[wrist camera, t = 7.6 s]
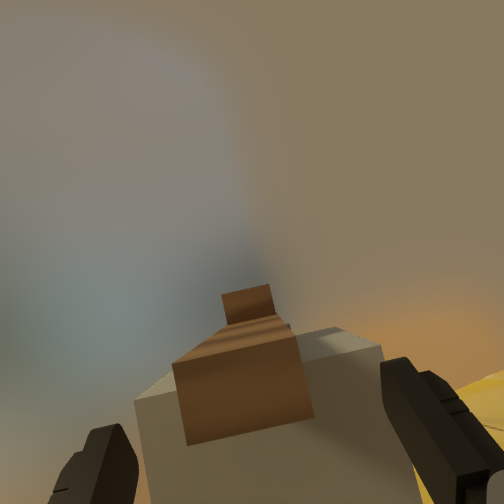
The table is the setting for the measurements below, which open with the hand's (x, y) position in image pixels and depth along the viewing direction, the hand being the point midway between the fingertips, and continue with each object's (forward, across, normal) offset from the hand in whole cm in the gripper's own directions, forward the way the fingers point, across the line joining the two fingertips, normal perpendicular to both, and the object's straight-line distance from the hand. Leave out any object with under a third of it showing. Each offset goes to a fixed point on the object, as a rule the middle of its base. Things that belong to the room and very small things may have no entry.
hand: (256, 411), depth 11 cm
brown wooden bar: (+9, 0, -6) cm, 11 cm away
